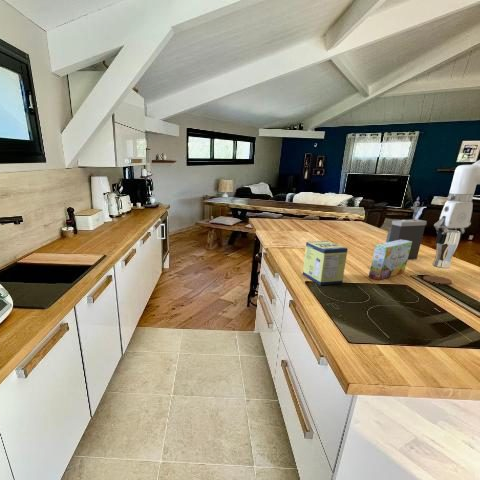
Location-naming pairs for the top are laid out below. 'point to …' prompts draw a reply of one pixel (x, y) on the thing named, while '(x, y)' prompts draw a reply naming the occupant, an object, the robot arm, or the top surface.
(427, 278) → the coaster
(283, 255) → the top surface
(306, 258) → the protein box
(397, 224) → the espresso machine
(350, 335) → the top surface
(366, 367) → the top surface
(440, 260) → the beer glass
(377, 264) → the snack box
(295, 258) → the top surface
